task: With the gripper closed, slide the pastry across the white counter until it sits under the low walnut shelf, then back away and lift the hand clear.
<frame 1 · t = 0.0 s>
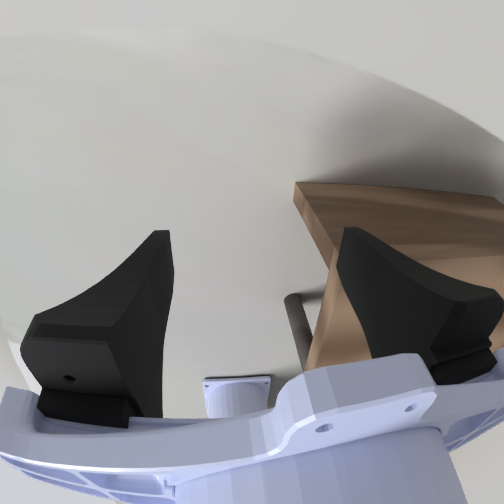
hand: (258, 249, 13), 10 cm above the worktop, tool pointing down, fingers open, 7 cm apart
walnut shelf: (401, 249, 27), on the worktop
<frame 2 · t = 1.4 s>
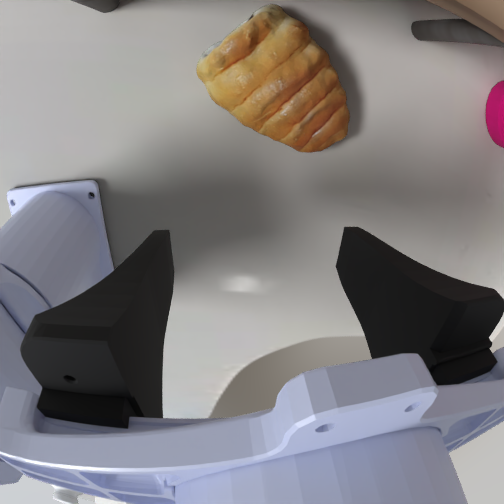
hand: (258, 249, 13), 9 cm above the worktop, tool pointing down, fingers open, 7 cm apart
pastry: (273, 75, 17), on the worktop
supplement bottle: (73, 444, 43), on the worktop
pepper mill: (503, 113, 18), on the worktop
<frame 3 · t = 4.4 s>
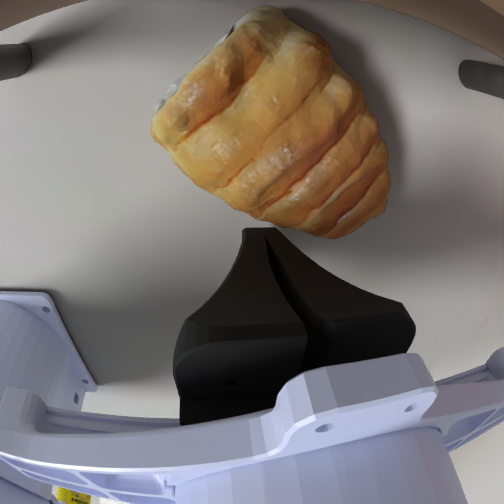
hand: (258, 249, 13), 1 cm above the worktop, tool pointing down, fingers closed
pastry: (275, 119, 12), on the worktop, touching gripper
milk: (134, 502, 48), on the worktop
supplement bottle: (75, 481, 39), on the worktop
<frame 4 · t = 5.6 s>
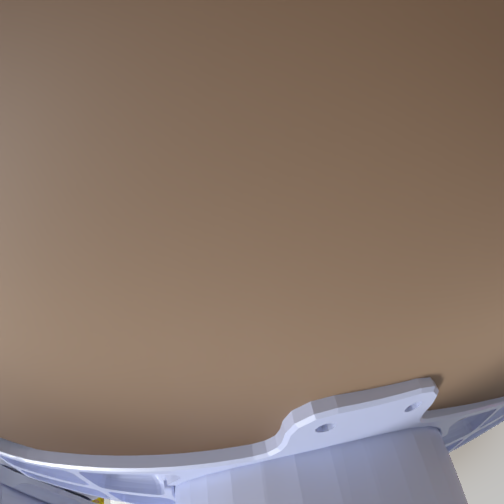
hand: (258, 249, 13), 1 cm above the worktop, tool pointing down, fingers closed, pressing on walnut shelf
milk: (143, 502, 53), on the worktop
walnut shelf: (274, 57, 9), on the worktop
supplement bottle: (89, 484, 44), on the worktop
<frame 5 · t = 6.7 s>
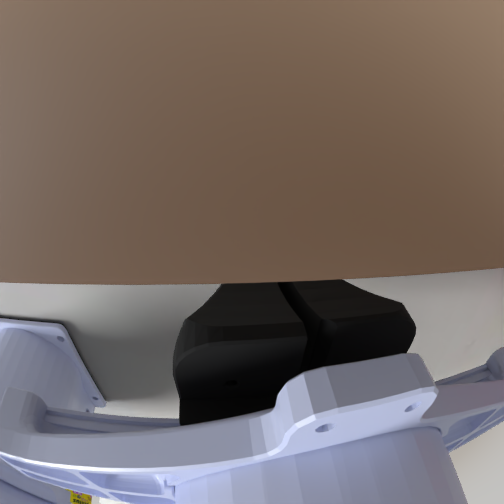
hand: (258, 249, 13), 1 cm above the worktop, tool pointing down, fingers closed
milk: (133, 502, 50), on the worktop
supplement bottle: (76, 482, 40), on the worktop
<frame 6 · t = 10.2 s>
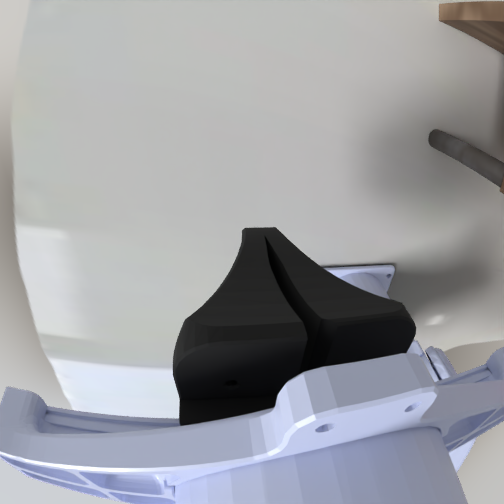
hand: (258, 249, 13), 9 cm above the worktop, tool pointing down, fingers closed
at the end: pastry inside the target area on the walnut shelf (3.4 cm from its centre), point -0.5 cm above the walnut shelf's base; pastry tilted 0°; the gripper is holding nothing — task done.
